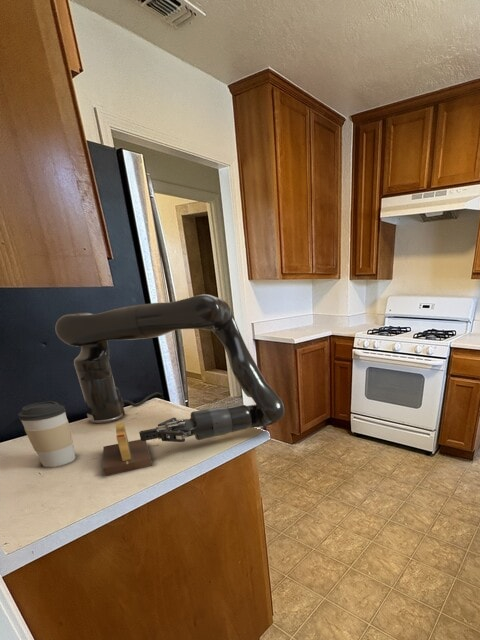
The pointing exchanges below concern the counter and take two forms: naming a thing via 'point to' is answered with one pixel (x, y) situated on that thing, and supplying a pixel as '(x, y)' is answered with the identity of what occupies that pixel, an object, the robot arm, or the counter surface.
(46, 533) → the counter surface
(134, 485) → the counter surface
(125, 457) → the wooden toy block
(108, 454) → the brown square board
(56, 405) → the coffee cup
